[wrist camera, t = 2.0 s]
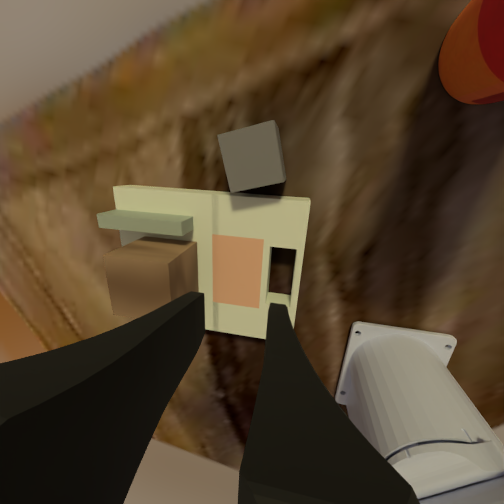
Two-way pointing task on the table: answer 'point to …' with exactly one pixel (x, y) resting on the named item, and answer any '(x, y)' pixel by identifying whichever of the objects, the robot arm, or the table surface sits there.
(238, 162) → the charcoal block
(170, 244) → the walnut block
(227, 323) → the board
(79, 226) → the table surface
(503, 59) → the paper cup
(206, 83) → the table surface
